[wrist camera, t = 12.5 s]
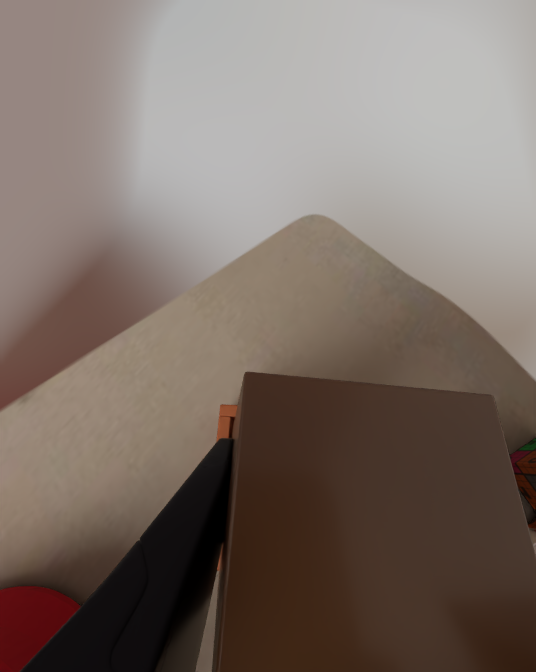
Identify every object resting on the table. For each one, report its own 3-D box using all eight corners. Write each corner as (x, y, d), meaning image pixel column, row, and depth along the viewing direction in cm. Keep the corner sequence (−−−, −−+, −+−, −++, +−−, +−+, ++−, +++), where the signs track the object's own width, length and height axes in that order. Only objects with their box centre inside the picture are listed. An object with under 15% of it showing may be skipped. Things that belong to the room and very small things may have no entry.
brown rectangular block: (314, 531, 13) (599, 787, 3) (222, 527, 13) (201, 814, 3) (314, 433, 15) (494, 394, 5) (232, 427, 14) (244, 370, 4)
